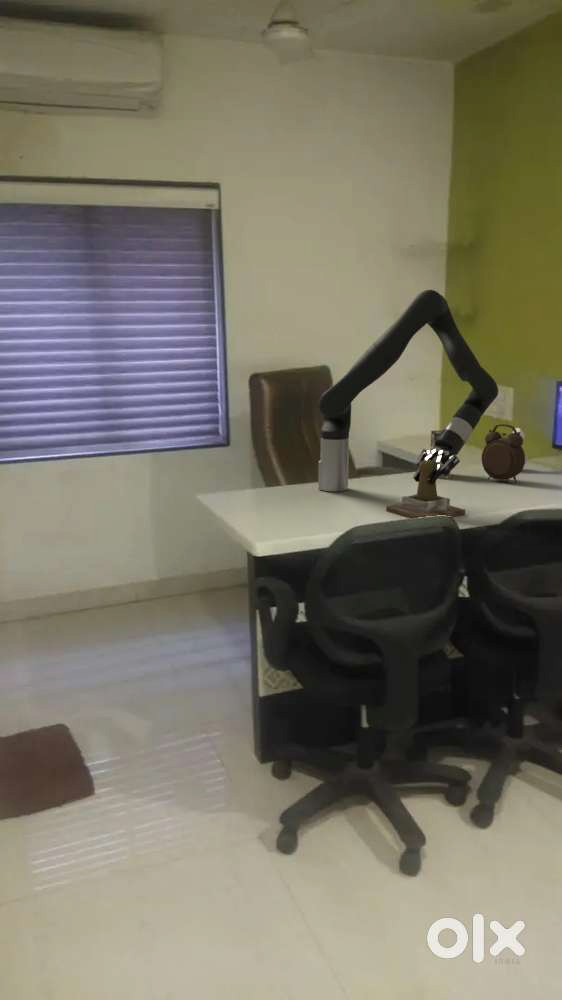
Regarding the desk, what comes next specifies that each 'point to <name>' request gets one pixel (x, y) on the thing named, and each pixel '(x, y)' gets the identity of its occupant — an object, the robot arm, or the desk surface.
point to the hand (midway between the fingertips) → (422, 481)
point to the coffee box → (433, 437)
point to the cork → (424, 488)
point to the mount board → (424, 507)
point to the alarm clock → (503, 454)
